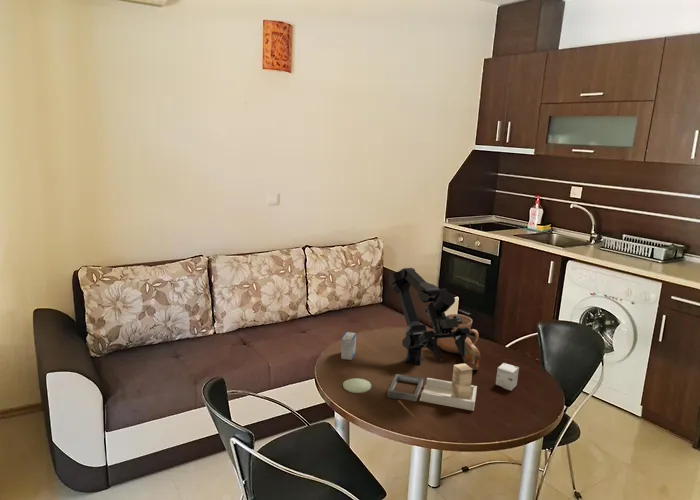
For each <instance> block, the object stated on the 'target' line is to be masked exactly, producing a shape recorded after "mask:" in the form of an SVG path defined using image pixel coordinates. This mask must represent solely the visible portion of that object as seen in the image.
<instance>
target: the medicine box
mask: <svg viewBox="0 0 700 500" xmlns="http://www.w3.org/2000/svg"><path fill="white" fill-rule="evenodd" d="M356 334H357V333H356V332H349V331H346V332H345V333H344V335H343V336H342V338H341V349H340V350H341V352H340V355H341V356H340V357H341V359H342V360H350V361H352V360H353V359H354V355H355V353H356V346H357V345H356V341H357V335H356Z"/></svg>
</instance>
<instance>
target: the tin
mask: <svg viewBox="0 0 700 500" xmlns="http://www.w3.org/2000/svg"><path fill="white" fill-rule="evenodd" d="M464 347H465V356H464V357H462V361H463V363H465V364H467V365H468V366H469V367H471V368H472V371H477V370H479V368H480V364H481V359H482V358H481V352H480V350H479V348H478V347H476V345H474V344H473V341H472V342H465V346H464Z"/></svg>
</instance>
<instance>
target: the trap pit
mask: <svg viewBox="0 0 700 500" xmlns="http://www.w3.org/2000/svg"><path fill="white" fill-rule="evenodd" d="M398 382H404V383H410V384H411V383H412V384H416V385H417V386H416V388H415V391H414V394H413V393H409V392H403V391H399V390H398V391H397V390H394V389H395V387H396V385H397V383H398ZM423 384H424V378H421V377H417V376H410V375H405V374H398V373H395V376H394V378H393V379H392V381H391V383H390V386H389V387H388V389H387V392H386V393H387V395H386V398H388V399H392V400H398V401H400V400H406V401H410V402H411V401H412V402H417V400H418V398H419V395H420V392H421V390H422V387H423Z"/></svg>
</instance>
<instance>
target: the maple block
mask: <svg viewBox="0 0 700 500" xmlns="http://www.w3.org/2000/svg"><path fill="white" fill-rule="evenodd" d="M452 370H453V371H452V379H451V382H452V390H451V397H456V398H461V399H467V400H470V390H471V385H472V381H473V380H472V379H473V377H472V376H473V370H472V368H471V367H469V366H468V365H467V364H465V362H463V363H458V364H453V369H452Z"/></svg>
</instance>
